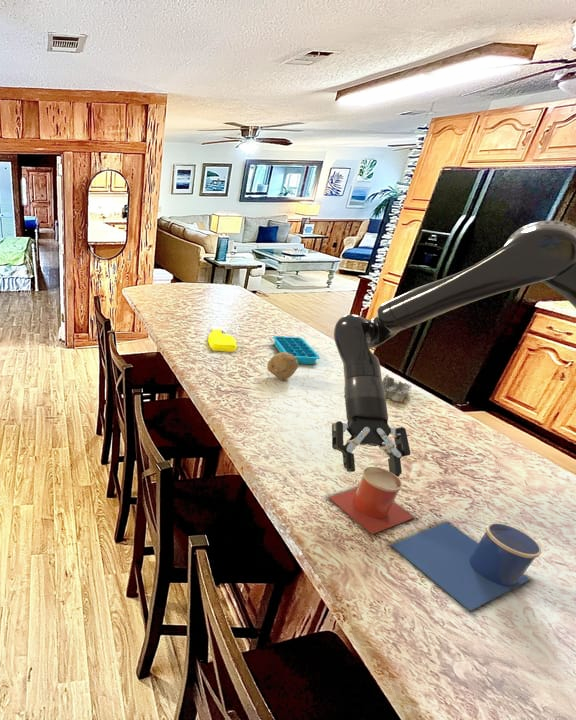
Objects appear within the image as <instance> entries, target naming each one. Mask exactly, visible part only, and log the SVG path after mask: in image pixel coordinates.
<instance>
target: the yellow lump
mask: <svg viewBox="0 0 576 720" xmlns="http://www.w3.org/2000/svg"><path fill="white" fill-rule="evenodd" d="M210 330H211V332H210V333H209V335H208V337H207V341H208V344H209V347H210V349H211V350H213V351H214V352H227V353H234V352H235V351H236V350H237V347H238V344H237V341H236V339H235V337H234V336H232V335H230V334H226V333H228V331H227V330H228V327H227V326H210ZM223 332H225V333H223Z"/></svg>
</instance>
